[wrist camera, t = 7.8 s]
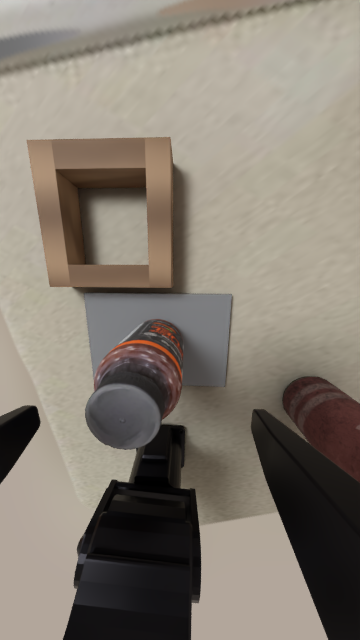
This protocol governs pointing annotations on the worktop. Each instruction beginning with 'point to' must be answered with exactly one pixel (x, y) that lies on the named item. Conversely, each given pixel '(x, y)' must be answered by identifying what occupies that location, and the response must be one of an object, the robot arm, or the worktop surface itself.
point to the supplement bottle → (137, 386)
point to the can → (326, 420)
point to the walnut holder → (102, 172)
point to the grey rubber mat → (179, 309)
